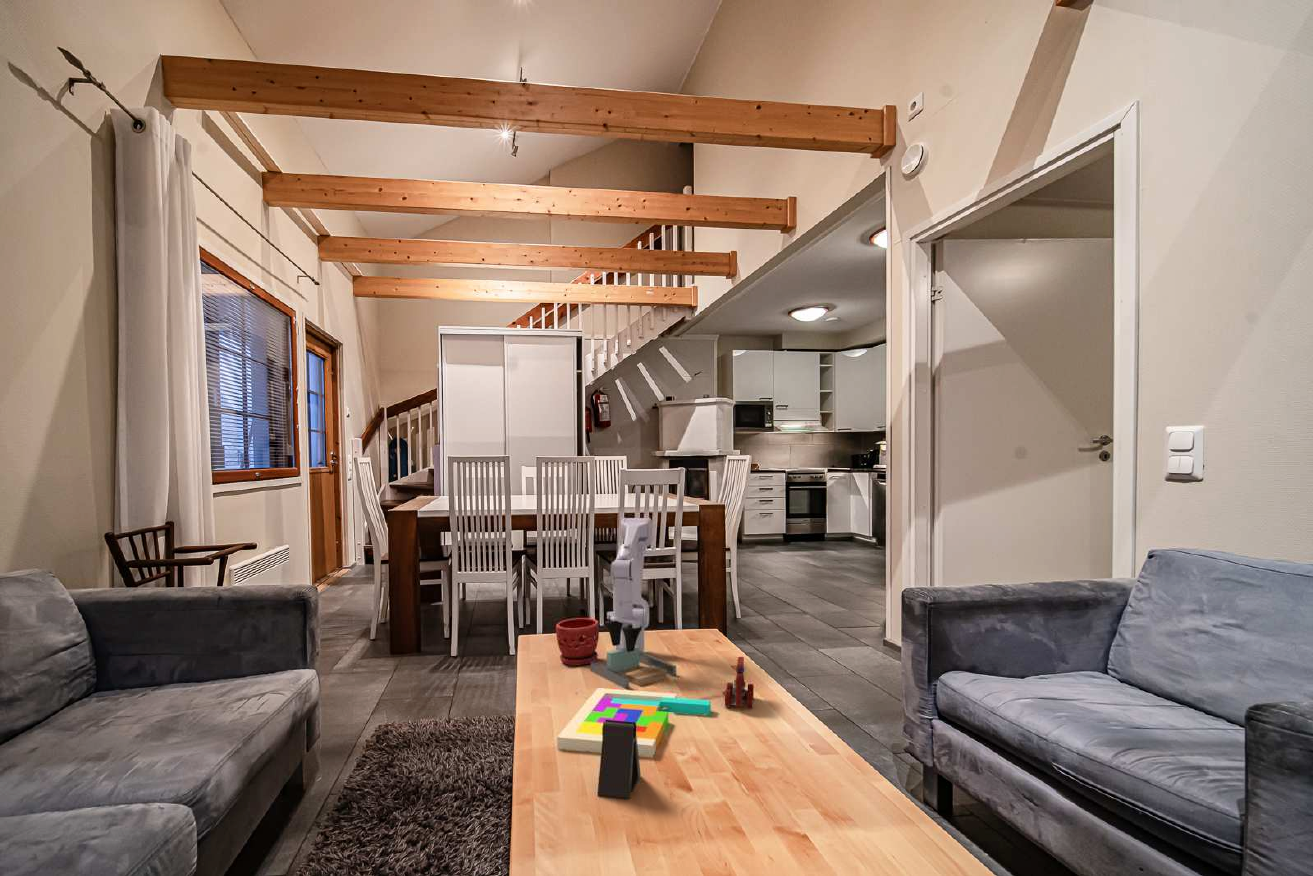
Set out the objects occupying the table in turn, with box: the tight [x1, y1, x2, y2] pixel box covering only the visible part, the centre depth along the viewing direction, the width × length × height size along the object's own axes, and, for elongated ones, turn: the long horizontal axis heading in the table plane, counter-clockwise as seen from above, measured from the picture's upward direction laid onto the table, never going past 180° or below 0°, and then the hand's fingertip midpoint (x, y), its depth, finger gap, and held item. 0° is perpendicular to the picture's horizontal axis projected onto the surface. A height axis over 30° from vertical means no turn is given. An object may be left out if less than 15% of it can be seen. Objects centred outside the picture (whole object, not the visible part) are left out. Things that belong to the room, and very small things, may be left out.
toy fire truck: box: [724, 656, 755, 709], centre depth 162 cm, size 7×12×10 cm, turn 169°
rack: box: [590, 651, 677, 690], centre depth 181 cm, size 18×17×4 cm
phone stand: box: [597, 720, 642, 800], centre depth 121 cm, size 9×6×12 cm, turn 167°
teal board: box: [606, 646, 640, 673], centre depth 185 cm, size 2×10×7 cm, turn 127°
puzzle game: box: [556, 687, 712, 758], centre depth 148 cm, size 30×3×30 cm
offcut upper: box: [624, 666, 668, 687], centre depth 176 cm, size 6×10×2 cm, turn 130°
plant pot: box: [555, 617, 600, 667], centre depth 196 cm, size 13×13×12 cm
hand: (623, 648), depth 185 cm, fingers open, 7 cm apart
